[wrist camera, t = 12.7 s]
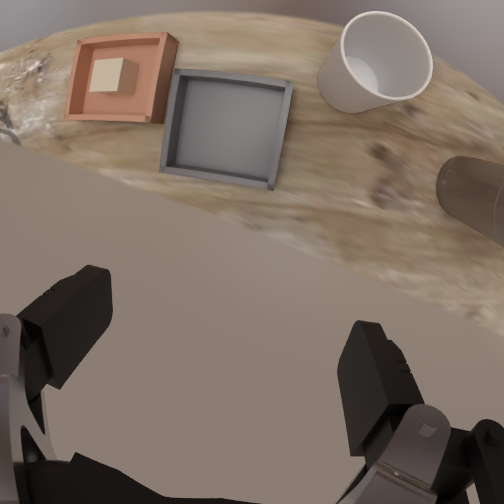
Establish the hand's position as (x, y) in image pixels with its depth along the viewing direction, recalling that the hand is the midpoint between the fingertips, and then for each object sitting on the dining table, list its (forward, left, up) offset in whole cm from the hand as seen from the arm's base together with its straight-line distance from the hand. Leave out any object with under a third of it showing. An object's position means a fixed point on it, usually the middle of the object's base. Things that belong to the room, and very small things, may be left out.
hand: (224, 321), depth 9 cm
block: (+22, -12, -31) cm, 40 cm away
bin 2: (+6, -6, -32) cm, 33 cm away
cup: (-8, -15, -32) cm, 37 cm away
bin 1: (+22, -12, -32) cm, 41 cm away
